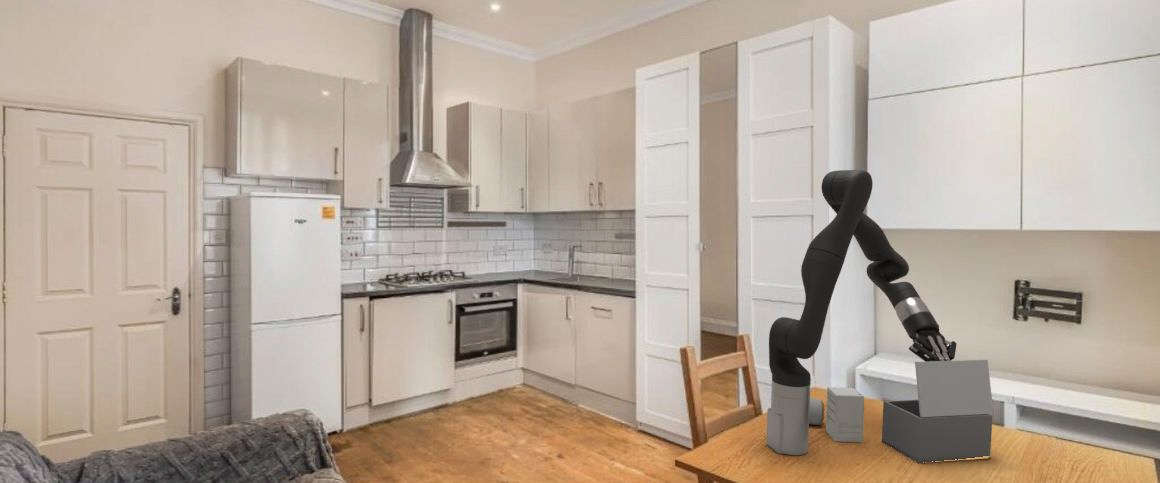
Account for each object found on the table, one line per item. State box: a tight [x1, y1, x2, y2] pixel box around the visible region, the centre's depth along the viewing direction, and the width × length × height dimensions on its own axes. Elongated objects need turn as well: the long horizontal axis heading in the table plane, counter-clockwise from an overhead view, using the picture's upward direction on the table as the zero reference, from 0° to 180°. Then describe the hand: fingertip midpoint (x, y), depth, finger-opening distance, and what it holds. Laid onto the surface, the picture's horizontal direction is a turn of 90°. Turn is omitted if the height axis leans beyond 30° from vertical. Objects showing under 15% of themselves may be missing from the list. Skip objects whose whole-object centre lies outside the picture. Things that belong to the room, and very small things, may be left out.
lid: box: [914, 359, 994, 417], centre depth 140 cm, size 20×13×1 cm
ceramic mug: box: [809, 397, 825, 426], centre depth 165 cm, size 11×8×8 cm
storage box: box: [881, 399, 993, 464], centre depth 145 cm, size 20×13×11 cm, turn 100°
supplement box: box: [825, 386, 865, 443], centre depth 153 cm, size 7×7×13 cm
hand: (950, 377), depth 141 cm, fingers closed
